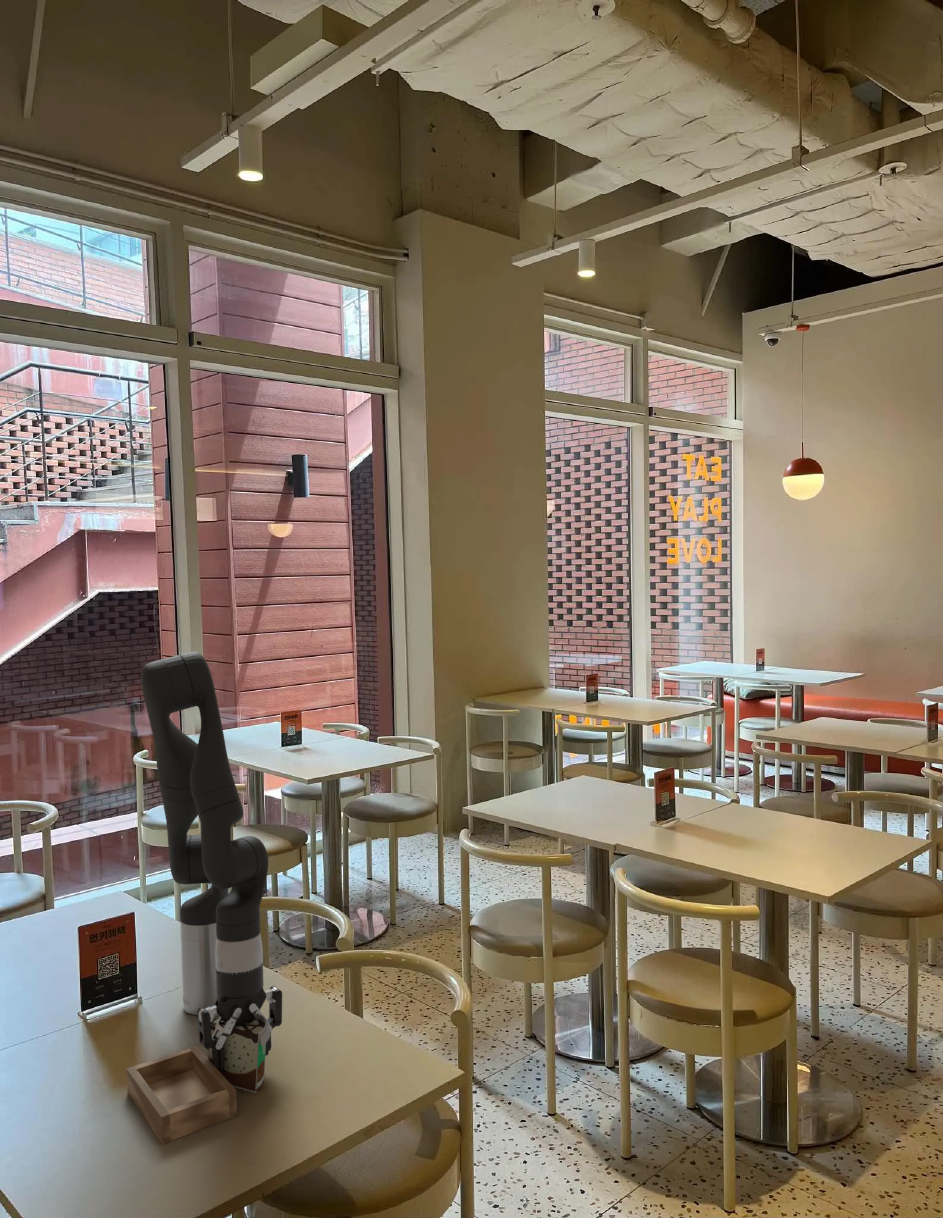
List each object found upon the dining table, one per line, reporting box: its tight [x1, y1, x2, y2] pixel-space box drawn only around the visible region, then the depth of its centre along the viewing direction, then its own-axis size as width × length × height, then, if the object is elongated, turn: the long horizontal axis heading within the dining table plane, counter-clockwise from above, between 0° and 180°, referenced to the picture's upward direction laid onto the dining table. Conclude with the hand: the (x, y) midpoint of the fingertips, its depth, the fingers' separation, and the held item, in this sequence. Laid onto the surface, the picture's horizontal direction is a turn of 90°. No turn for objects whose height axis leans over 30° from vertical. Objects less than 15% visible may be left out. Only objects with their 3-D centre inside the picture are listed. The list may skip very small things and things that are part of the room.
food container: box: [206, 1013, 270, 1094], centre depth 152 cm, size 12×6×10 cm, turn 64°
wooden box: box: [126, 1045, 238, 1145], centre depth 145 cm, size 11×17×4 cm, turn 36°
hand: (242, 1061), depth 152 cm, fingers closed on food container, 7 cm apart
